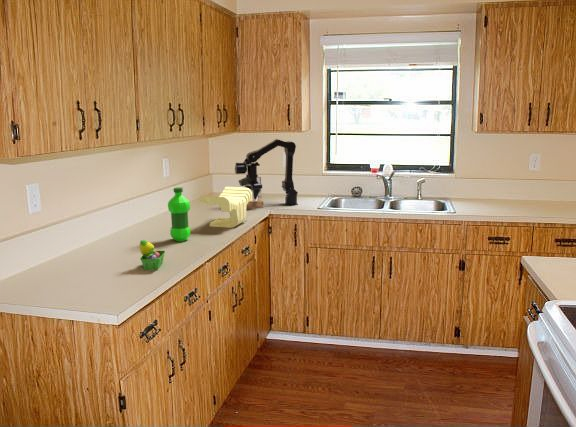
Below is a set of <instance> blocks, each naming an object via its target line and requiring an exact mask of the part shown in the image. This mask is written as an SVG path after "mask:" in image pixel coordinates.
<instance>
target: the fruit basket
mask: <svg viewBox="0 0 576 427" xmlns="http://www.w3.org/2000/svg"><path fill="white" fill-rule="evenodd" d="M139 247H140V248H139V250H140V253H141V254H142V256H141V257H140V258H139V259H140V261H141V264H142V266H143V269H144V271H158V270H159V269H160V267H161V266H162V264H163V262H164V257H165V253H166V250H155V246H154V244H152V243H151V242H149V241H148V240H146V239H143V240H140V243H139Z"/></svg>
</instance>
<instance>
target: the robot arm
mask: <svg viewBox="0 0 576 427" xmlns="http://www.w3.org/2000/svg"><path fill="white" fill-rule="evenodd" d="M277 147H281V148H283V150H284V153H285V170H284V171H285V175H284V176H285V177H284V180H281V188H282V190H283V191H284V192H285V198H284V199H285V202H284V205H287V206H296V205H297V206H298V205H299V203H298V193H299V192H298V191H297V190H296V189H295V183H294V180H293V168H294V167H293V166H294V155H295V153H296V148H297V145H296V143H295V142H293V141H289V140H287V141H284V140H281V139H278V138H275V139H274V140H273V141H271V142H269V143H267V144H266V145H264V146H262V147H261V148H259V149H256V150H253V151H250V152H248V153H247V154H246V157H245V159H244V161H243V162H235V165H234V166H235V167H234V173H235V175H240V174H241V175H245V174H246V173H247V174H246V176H245V177H246V178H245V177H244V178H241V179H239V180H238V183H239V186H241V187H244V188H245V187H246V188H249V189H251V190H252V191H253V195H254V199H256V198H257V196H258V194H259V192H260V190H261V191H262V189H263V184H262V183H261V184H260V183H258V181H257V177H259V175H258V170H257V169H258V168H257V167H259V166H260V165H261V164H260V163H259V162H258V160H259V159H261V157H262V156H264V155H265V154H267V153H268V152H270V151H272V150H274V149H275V148H277Z"/></svg>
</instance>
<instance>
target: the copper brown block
mask: <svg viewBox="0 0 576 427" xmlns="http://www.w3.org/2000/svg"><path fill="white" fill-rule="evenodd" d="M246 206H247V208H246V210H254V209H262V208H264V201H263V200H262V199H261V200H259V199H258V200H257V201H254V202H251V201H250V202H248V204H247V205H246Z"/></svg>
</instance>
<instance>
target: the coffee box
mask: <svg viewBox="0 0 576 427" xmlns="http://www.w3.org/2000/svg"><path fill="white" fill-rule="evenodd" d="M244 178H246V176H245V177H244ZM257 181H258V183H260V184H262V177H261V176H258V177H257ZM244 188H246V187H244ZM258 199H259V200H261V201H262V189H261V190H260V192H259V194H258Z"/></svg>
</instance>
